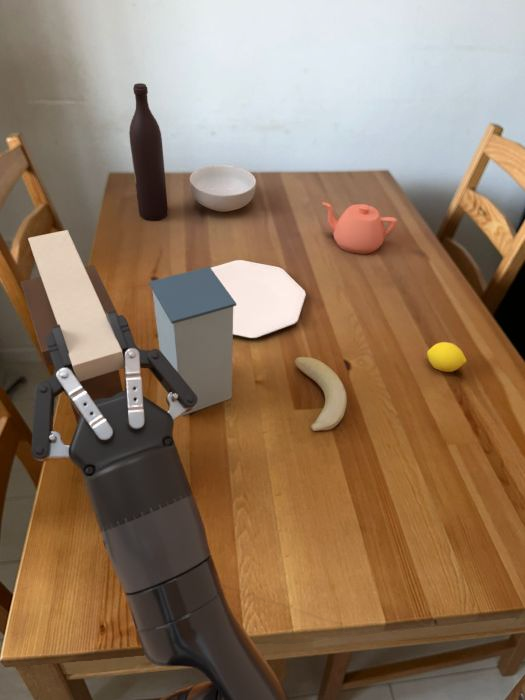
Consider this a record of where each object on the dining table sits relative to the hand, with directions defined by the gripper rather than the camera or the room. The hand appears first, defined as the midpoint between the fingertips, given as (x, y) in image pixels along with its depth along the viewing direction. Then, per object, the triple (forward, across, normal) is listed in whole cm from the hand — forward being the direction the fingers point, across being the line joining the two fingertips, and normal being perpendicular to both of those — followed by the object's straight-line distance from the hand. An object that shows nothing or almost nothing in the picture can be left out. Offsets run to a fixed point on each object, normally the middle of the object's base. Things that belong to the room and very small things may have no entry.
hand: (83, 322), depth 44 cm
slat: (+4, 0, +5) cm, 6 cm away
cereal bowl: (+47, -47, +70) cm, 97 cm away
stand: (-10, 0, +37) cm, 39 cm away
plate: (+14, -35, +51) cm, 64 cm away
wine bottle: (+48, -29, +71) cm, 91 cm away
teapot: (+23, -69, +56) cm, 92 cm away
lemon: (-14, -60, +35) cm, 71 cm away
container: (-2, -17, +42) cm, 46 cm away
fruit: (-10, -35, +37) cm, 52 cm away
